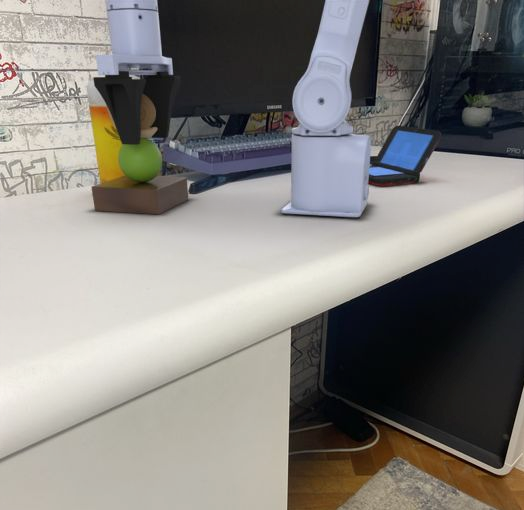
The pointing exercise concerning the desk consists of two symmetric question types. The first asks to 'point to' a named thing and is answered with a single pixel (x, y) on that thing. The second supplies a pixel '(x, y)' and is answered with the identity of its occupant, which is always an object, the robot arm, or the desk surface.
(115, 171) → the glass of beer
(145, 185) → the walnut block
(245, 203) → the desk surface
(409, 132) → the handheld console
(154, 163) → the snail figurine
